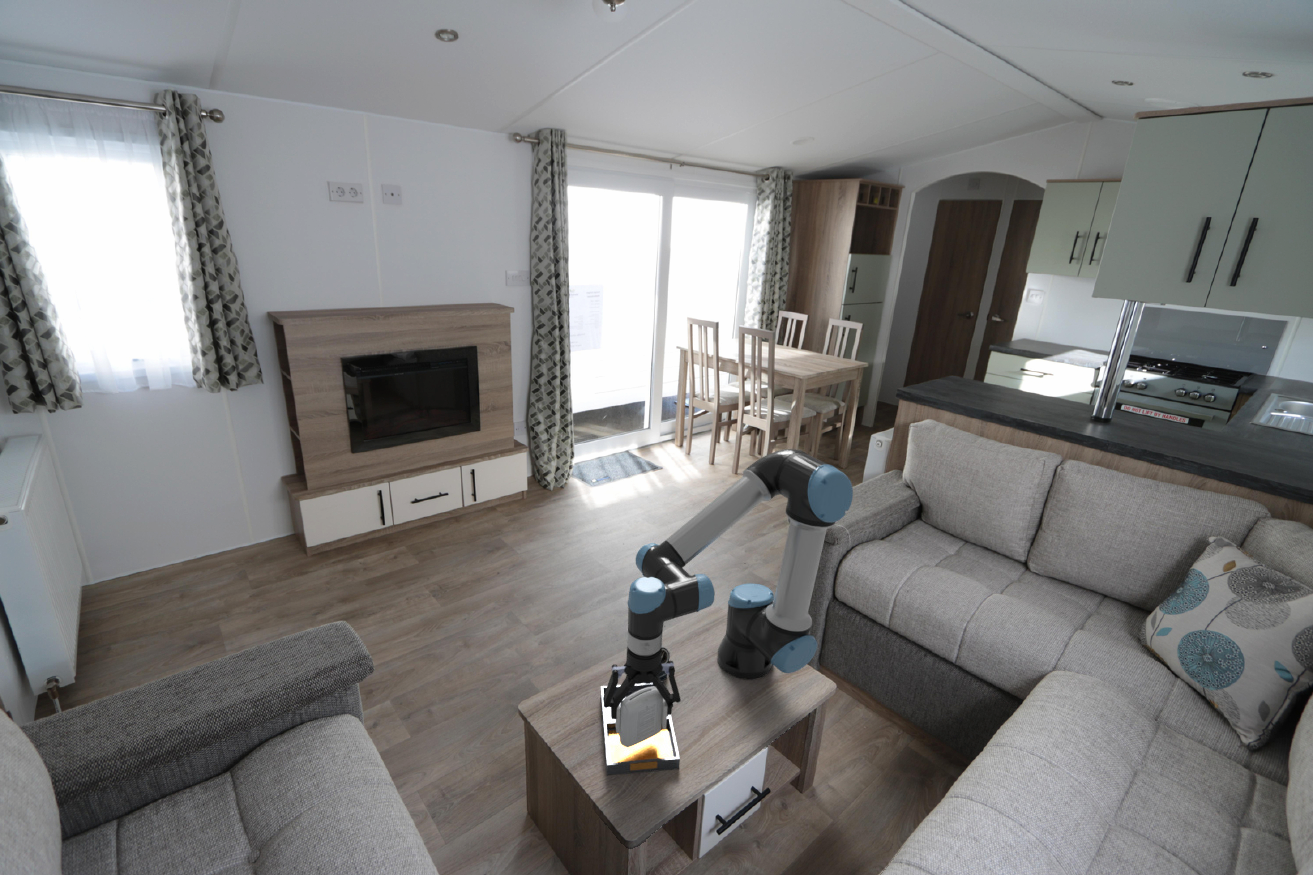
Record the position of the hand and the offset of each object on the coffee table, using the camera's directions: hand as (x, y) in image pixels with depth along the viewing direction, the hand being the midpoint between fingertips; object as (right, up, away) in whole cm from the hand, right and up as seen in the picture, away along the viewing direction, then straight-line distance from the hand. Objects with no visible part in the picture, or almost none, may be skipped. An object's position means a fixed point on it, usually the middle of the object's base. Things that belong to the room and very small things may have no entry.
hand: (640, 726), depth 139 cm
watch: (+3, +1, +25) cm, 25 cm away
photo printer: (0, -3, +1) cm, 3 cm away
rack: (-1, -5, +8) cm, 9 cm away
